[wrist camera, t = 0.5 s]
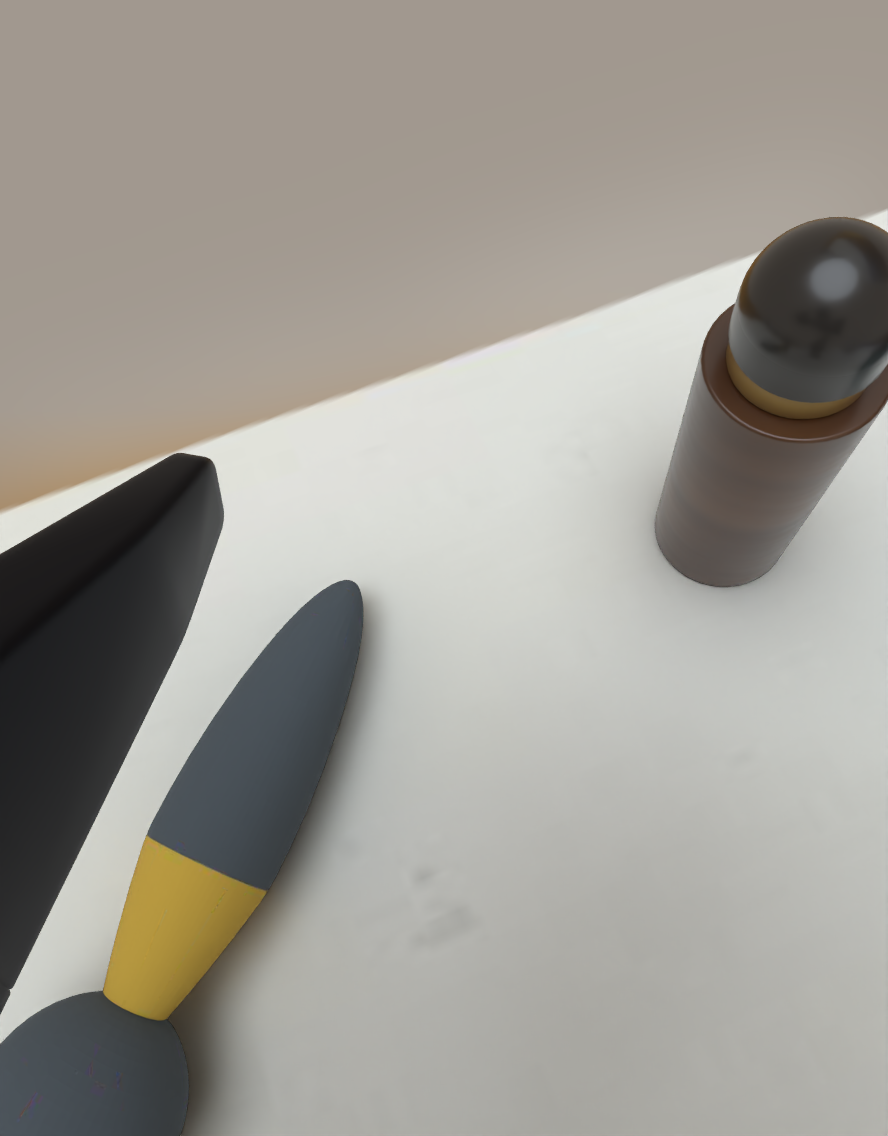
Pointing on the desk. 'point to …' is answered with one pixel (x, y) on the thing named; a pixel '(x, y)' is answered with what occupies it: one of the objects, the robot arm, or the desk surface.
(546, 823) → the desk surface
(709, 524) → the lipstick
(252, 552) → the desk surface
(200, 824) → the paintbrush
